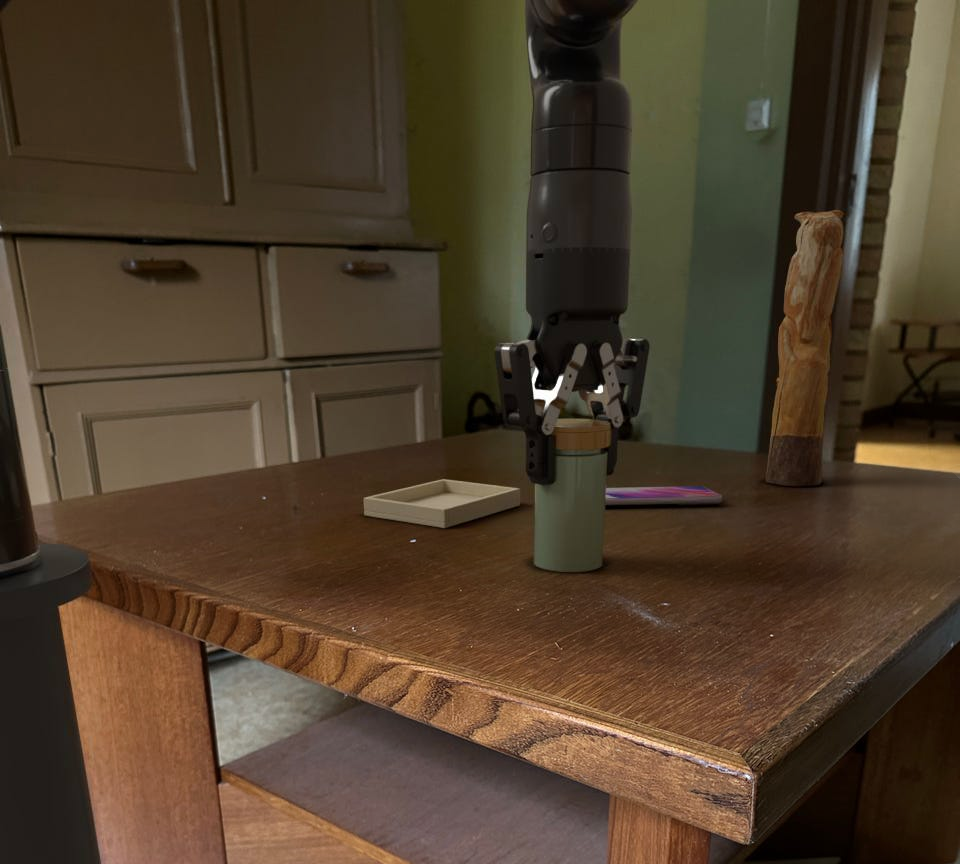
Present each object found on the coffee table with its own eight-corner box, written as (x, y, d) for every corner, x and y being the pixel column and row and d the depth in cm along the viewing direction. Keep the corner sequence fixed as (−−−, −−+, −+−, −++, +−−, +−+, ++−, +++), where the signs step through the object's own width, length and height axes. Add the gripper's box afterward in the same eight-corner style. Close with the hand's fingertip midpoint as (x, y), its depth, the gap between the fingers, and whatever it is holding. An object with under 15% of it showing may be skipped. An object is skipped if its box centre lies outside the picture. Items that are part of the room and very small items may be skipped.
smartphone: (570, 488, 101) (702, 485, 102) (570, 496, 101) (702, 493, 102) (582, 499, 94) (724, 496, 95) (582, 507, 94) (724, 504, 95)
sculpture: (813, 474, 114) (845, 211, 104) (828, 488, 105) (864, 201, 95) (759, 473, 115) (785, 212, 105) (768, 486, 106) (798, 203, 96)
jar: (581, 576, 70) (586, 439, 67) (520, 565, 73) (522, 434, 70) (614, 561, 75) (621, 431, 71) (555, 551, 78) (559, 427, 74)
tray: (444, 528, 86) (444, 509, 85) (364, 515, 92) (363, 497, 91) (520, 505, 96) (520, 488, 96) (443, 495, 102) (443, 479, 101)
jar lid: (533, 439, 74) (533, 418, 73) (606, 440, 74) (607, 418, 73) (534, 450, 68) (535, 427, 68) (613, 450, 68) (615, 427, 67)
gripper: (611, 252, 73) (603, 464, 79) (467, 245, 65) (470, 483, 70) (684, 246, 67) (669, 475, 73) (536, 238, 59) (533, 497, 65)
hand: (571, 478), depth 72 cm, fingers closed on jar lid, 5 cm apart
